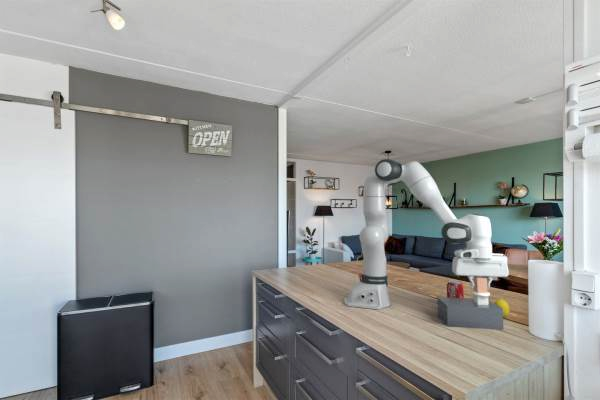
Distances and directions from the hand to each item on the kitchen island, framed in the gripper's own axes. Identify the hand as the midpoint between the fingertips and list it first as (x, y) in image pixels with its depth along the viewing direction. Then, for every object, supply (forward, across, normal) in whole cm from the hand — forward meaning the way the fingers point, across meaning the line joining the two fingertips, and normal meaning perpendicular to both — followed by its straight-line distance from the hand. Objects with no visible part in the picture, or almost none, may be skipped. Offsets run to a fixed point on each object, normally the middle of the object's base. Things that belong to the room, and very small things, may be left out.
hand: (480, 286), depth 115 cm
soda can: (+15, +3, -19) cm, 24 cm away
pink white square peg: (+9, 0, 0) cm, 9 cm away
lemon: (+15, -11, -7) cm, 20 cm away
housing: (+14, +5, 0) cm, 15 cm away
